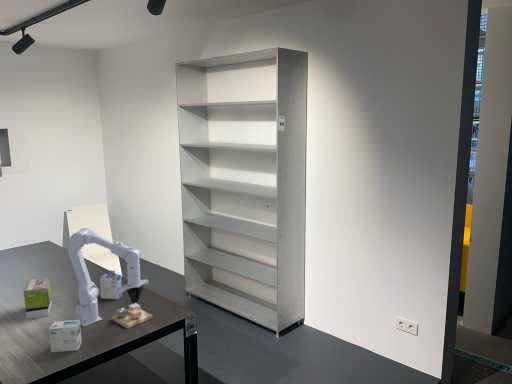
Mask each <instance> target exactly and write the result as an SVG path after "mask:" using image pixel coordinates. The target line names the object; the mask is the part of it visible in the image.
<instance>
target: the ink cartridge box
mask: <svg viewBox="0 0 512 384" xmlns="http://www.w3.org/2000/svg"><path fill="white" fill-rule="evenodd" d="M115 273H116V270H108V272H107V273H104V274H102V275H101V276H100V277H99V280H100V299H105V300H107V299H109V300H119V299H120V298H122V297H123V292H120V291H119V287H122V286H123V285H122V274H115Z"/></svg>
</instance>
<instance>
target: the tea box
mask: <svg viewBox="0 0 512 384" xmlns="http://www.w3.org/2000/svg"><path fill="white" fill-rule="evenodd" d="M51 295H52V293H51V283H50V277H43V278H42V277H41V278H34V279H28V280H27V282H26V285H25V286H24V289H23V297H24V306H25V319H27V320H28V319H35V318H36V319H37V318H42V317H44V318H45V317H49V316H50V315H49V314H50V312H51V308H52V307H51V306H52V296H51Z"/></svg>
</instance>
